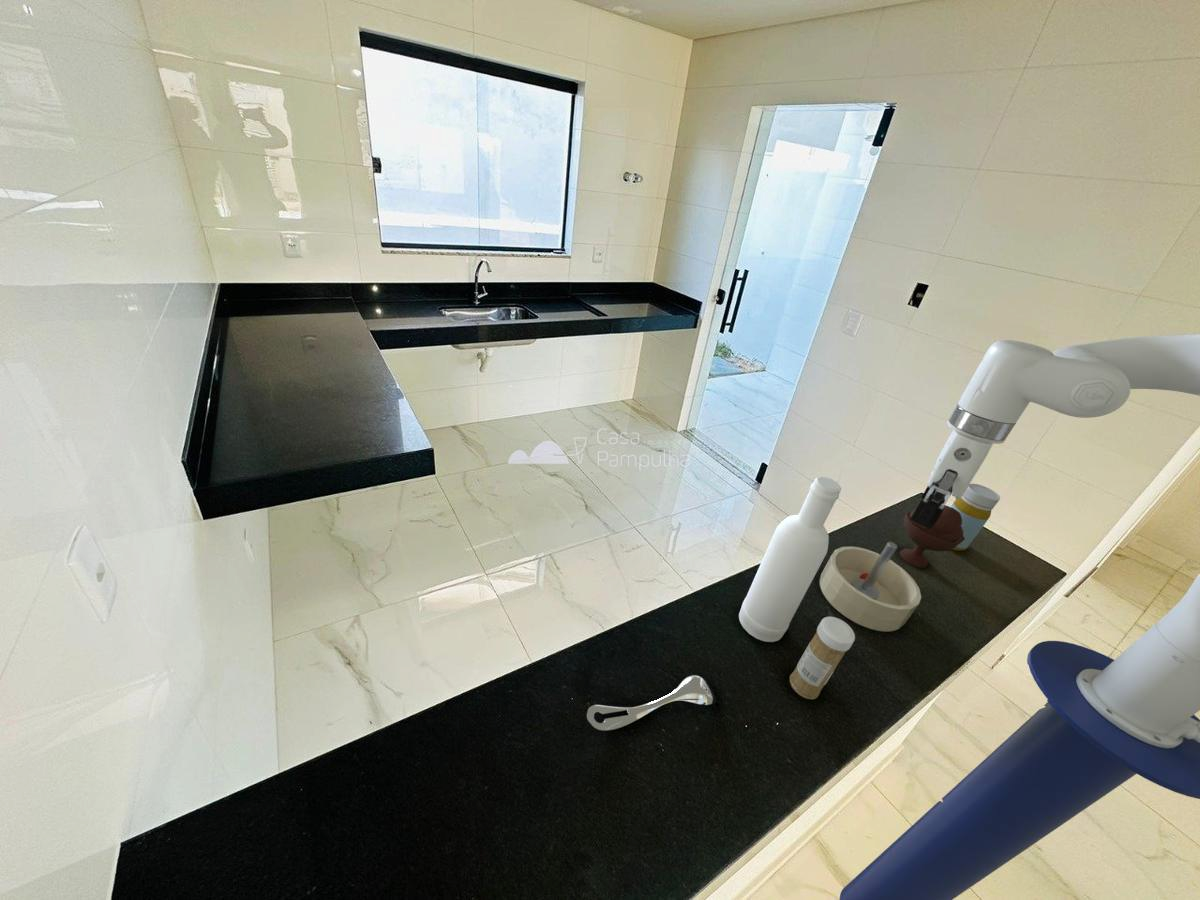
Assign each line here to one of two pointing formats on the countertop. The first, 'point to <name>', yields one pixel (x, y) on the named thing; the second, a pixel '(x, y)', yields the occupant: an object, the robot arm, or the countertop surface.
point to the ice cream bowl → (933, 536)
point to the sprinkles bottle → (821, 657)
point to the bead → (863, 576)
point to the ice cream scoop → (654, 703)
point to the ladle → (875, 573)
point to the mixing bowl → (881, 614)
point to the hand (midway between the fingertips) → (926, 512)
